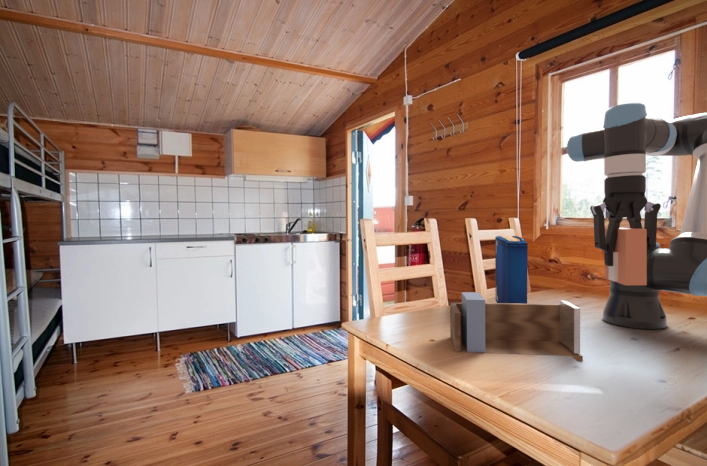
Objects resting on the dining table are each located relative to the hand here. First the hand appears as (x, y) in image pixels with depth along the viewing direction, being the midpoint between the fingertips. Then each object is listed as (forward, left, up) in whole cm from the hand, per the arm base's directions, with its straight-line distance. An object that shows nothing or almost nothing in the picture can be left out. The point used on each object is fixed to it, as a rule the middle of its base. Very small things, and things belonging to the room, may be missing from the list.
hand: (624, 280), depth 86 cm
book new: (0, 0, 0) cm, 0 cm away
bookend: (+12, 0, -16) cm, 20 cm away
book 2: (+14, -41, -17) cm, 47 cm away
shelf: (+24, 0, -17) cm, 30 cm away
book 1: (+33, 0, -16) cm, 37 cm away
